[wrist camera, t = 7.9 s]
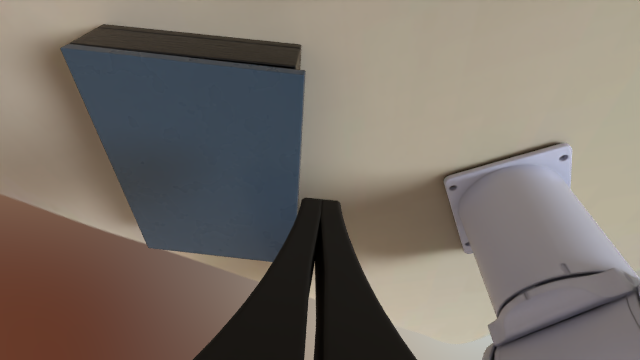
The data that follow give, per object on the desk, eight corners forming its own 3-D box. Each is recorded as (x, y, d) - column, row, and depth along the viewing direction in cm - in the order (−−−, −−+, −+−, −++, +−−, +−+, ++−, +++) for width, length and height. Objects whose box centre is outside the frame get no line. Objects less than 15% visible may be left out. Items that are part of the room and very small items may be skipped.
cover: (305, 70, 15) (304, 75, 15) (294, 258, 25) (293, 264, 25) (67, 43, 15) (59, 47, 15) (151, 241, 25) (148, 248, 25)
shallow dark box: (301, 44, 18) (295, 66, 16) (293, 224, 28) (289, 253, 26) (103, 23, 18) (68, 42, 15) (167, 213, 28) (151, 241, 25)
